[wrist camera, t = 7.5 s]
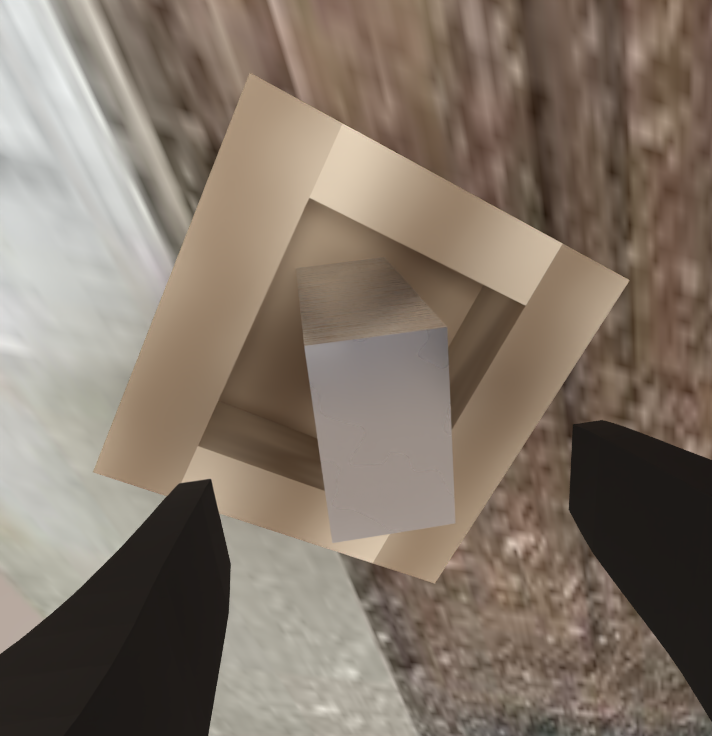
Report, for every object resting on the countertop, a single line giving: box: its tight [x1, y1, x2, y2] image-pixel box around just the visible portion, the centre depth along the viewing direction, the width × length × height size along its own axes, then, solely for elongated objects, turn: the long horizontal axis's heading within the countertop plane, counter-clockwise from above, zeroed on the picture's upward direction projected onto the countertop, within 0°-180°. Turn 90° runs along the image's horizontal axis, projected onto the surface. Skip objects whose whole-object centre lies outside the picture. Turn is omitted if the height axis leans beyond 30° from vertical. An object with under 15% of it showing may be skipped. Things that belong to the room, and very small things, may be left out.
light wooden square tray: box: [93, 73, 629, 583], centre depth 19 cm, size 12×12×4 cm
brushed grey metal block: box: [296, 257, 455, 543], centre depth 16 cm, size 3×5×8 cm, turn 6°
